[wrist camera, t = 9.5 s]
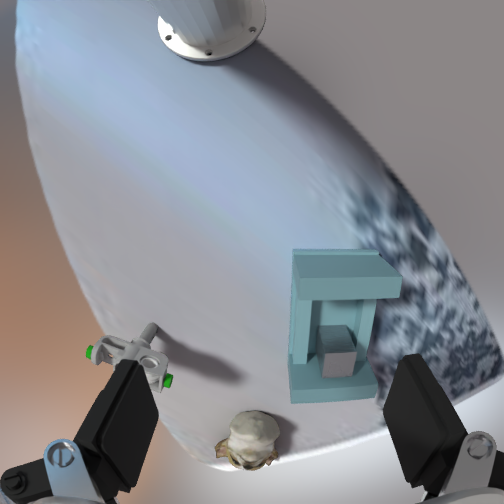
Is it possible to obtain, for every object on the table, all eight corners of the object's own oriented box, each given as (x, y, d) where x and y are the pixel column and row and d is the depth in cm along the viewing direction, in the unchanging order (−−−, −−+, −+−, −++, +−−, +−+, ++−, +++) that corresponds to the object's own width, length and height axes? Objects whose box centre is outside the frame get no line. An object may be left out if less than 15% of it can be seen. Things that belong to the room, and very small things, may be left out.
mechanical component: (120, 307, 38) (84, 346, 28) (190, 329, 38) (169, 377, 28) (119, 325, 39) (85, 365, 29) (187, 347, 39) (167, 396, 29)
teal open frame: (292, 249, 34) (300, 274, 26) (375, 249, 34) (403, 273, 26) (287, 363, 39) (290, 405, 31) (358, 360, 38) (373, 399, 30)
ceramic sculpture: (296, 451, 33) (271, 491, 38) (294, 405, 41) (273, 453, 46) (215, 440, 33) (207, 482, 38) (224, 395, 41) (215, 444, 46)
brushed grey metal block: (317, 325, 35) (325, 353, 30) (345, 324, 35) (356, 351, 30) (315, 348, 36) (321, 378, 31) (341, 347, 36) (351, 376, 31)
